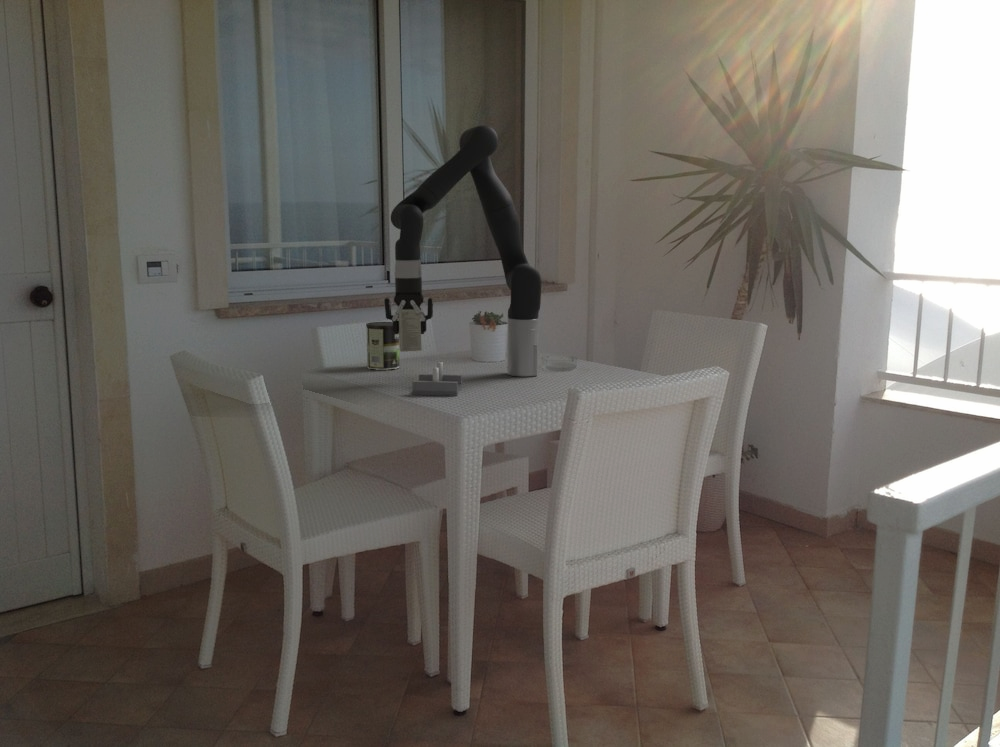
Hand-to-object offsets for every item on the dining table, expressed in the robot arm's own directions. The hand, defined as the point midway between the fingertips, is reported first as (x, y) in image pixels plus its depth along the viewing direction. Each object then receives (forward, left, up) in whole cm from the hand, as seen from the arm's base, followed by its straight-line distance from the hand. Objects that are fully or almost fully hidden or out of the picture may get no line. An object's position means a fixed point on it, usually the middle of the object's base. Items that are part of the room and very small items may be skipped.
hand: (409, 333), depth 270 cm
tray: (-10, +12, -14) cm, 21 cm away
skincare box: (0, 0, -5) cm, 5 cm away
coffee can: (+12, -23, -14) cm, 30 cm away
